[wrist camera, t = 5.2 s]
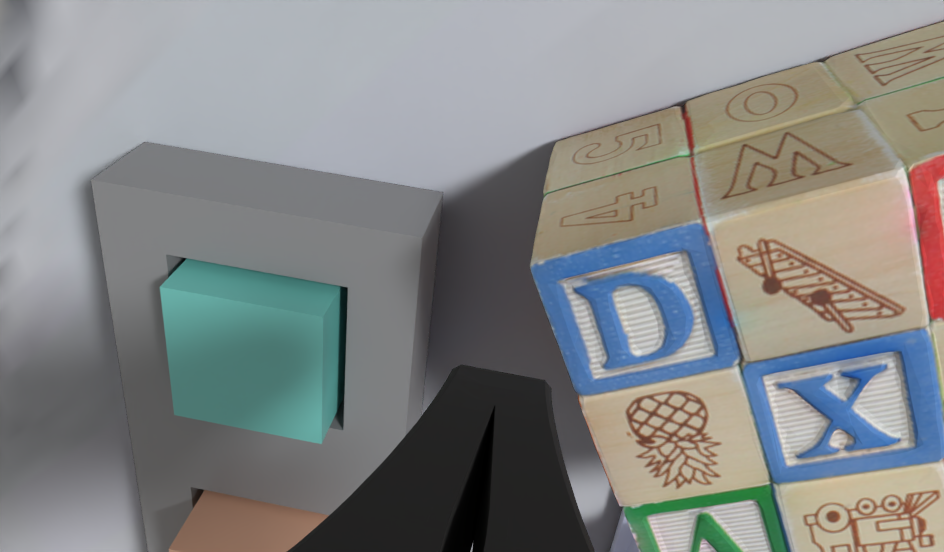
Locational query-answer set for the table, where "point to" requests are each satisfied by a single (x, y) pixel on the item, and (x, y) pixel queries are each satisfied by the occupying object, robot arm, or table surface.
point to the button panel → (277, 252)
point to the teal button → (255, 349)
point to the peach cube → (242, 525)
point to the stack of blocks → (763, 306)
